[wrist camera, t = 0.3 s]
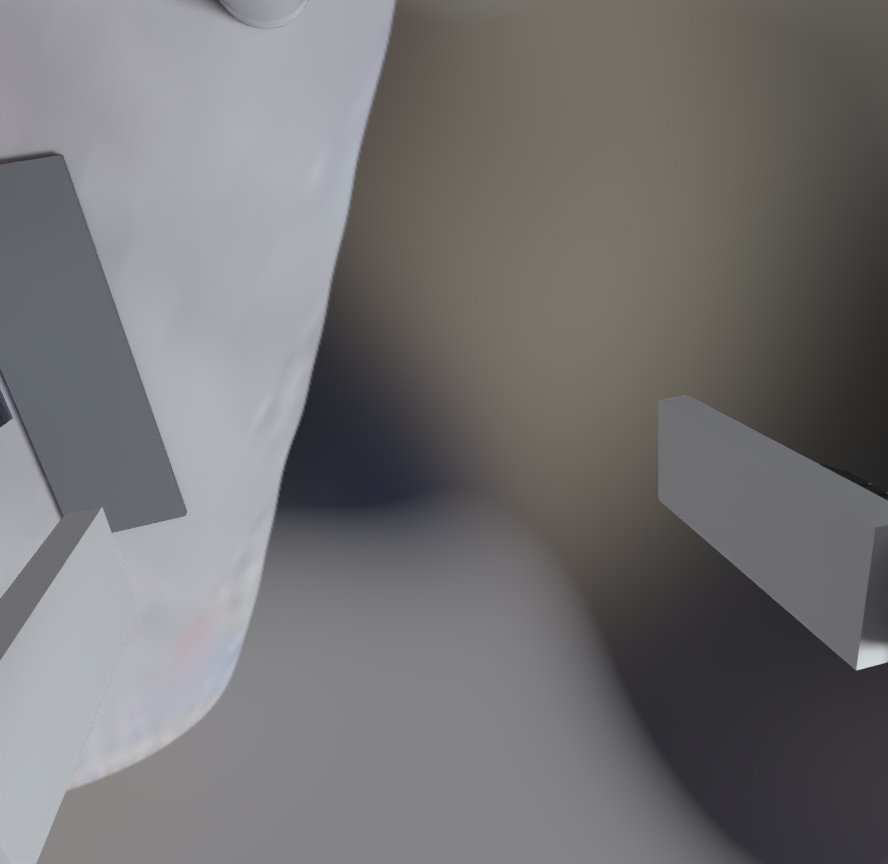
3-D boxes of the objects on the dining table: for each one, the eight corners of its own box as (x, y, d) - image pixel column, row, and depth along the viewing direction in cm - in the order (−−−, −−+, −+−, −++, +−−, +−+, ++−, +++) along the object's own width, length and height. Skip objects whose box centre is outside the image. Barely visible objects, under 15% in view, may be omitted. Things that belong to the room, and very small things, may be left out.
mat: (-76, 177, 34) (-82, 177, 34) (63, 155, 35) (59, 154, 34) (77, 536, 42) (74, 541, 42) (186, 511, 43) (185, 515, 42)
